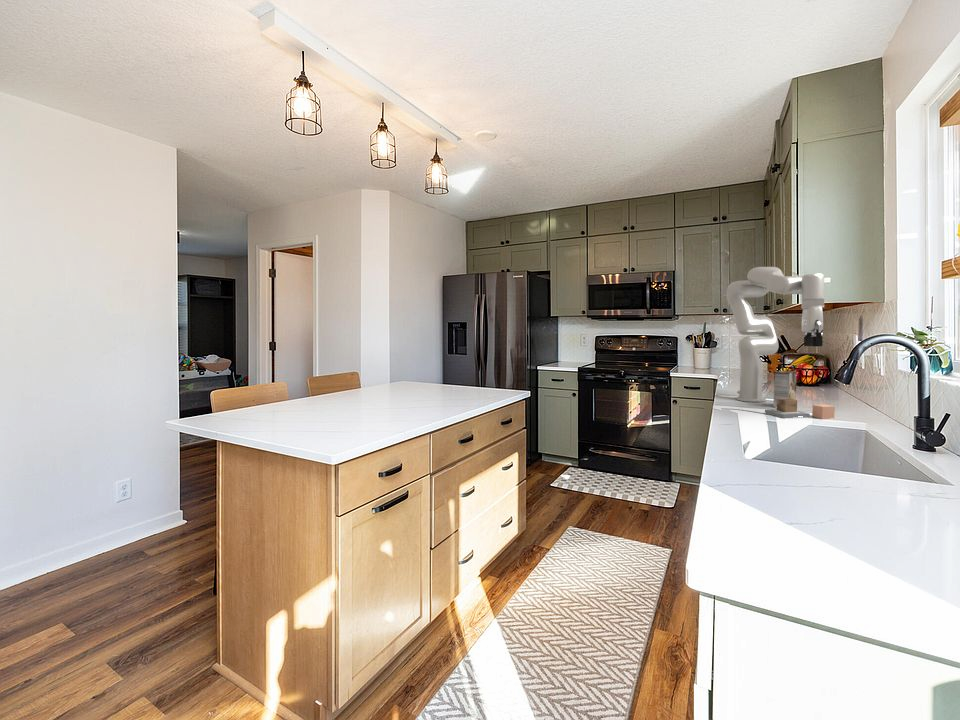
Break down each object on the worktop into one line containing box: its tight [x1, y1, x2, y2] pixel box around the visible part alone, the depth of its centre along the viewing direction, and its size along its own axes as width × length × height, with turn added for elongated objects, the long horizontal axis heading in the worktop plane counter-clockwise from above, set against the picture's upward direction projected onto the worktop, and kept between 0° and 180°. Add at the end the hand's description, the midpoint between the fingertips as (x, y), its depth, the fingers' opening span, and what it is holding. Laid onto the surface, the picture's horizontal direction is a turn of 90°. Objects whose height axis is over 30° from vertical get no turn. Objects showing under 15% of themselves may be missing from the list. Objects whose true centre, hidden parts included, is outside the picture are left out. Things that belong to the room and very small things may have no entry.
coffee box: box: [773, 370, 798, 408], centre depth 207 cm, size 9×6×16 cm
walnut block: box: [776, 398, 798, 413], centre depth 190 cm, size 5×5×5 cm
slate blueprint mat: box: [764, 408, 811, 419], centre depth 190 cm, size 11×11×2 cm
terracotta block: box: [811, 403, 836, 420], centre depth 184 cm, size 5×5×5 cm
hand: (813, 346), depth 188 cm, fingers open, 9 cm apart
